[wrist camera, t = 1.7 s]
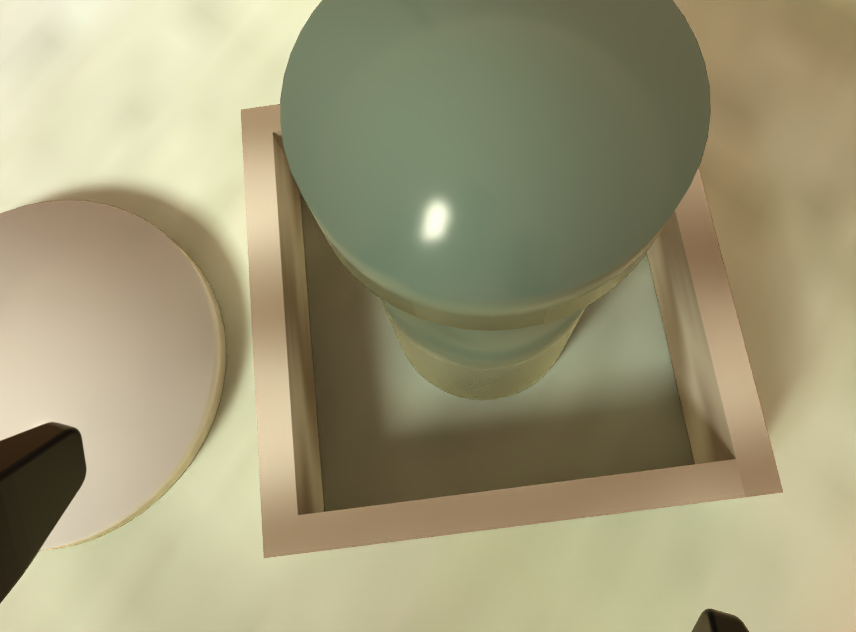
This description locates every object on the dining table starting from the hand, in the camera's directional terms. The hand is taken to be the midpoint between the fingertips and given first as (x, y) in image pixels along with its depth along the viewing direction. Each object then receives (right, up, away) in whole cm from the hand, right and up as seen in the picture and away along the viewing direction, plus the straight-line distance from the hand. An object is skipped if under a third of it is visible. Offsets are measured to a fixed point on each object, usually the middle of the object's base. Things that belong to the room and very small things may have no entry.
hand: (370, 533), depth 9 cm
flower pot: (+3, +3, +14) cm, 15 cm away
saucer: (-12, +1, +15) cm, 19 cm away
